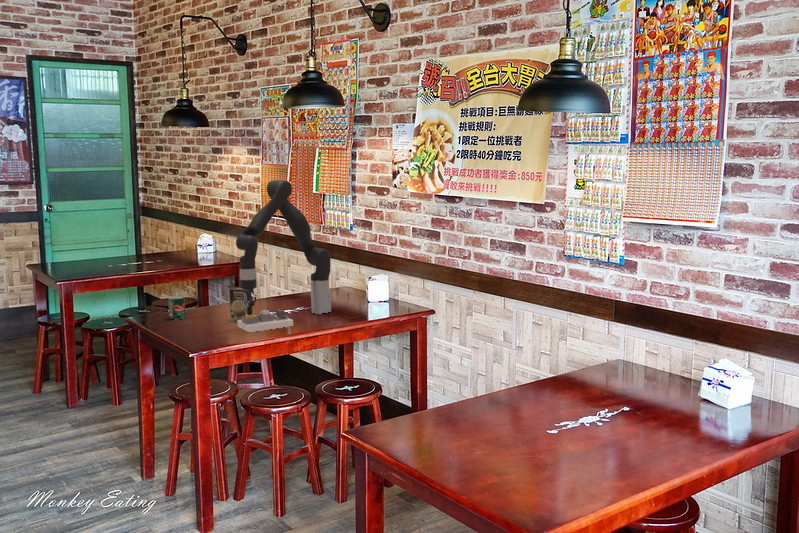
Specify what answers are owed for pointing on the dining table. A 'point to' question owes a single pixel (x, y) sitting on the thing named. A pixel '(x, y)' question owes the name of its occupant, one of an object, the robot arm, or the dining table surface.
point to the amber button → (249, 316)
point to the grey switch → (265, 313)
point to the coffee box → (237, 304)
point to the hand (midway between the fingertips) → (249, 314)
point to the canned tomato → (176, 307)
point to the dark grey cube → (280, 314)
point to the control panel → (263, 323)
